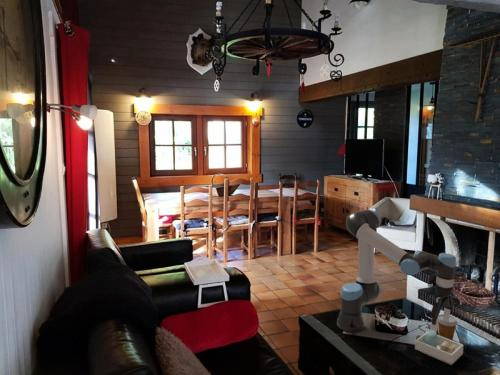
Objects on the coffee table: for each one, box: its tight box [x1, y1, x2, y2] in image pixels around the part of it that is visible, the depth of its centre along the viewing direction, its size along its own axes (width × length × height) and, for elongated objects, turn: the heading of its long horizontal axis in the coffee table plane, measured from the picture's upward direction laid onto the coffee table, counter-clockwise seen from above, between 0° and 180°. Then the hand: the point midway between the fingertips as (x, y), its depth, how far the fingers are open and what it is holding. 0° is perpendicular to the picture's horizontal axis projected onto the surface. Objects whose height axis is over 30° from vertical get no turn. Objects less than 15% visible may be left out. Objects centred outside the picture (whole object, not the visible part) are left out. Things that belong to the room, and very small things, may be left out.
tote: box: [414, 330, 464, 366], centre depth 193 cm, size 18×14×5 cm
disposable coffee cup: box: [437, 314, 458, 341], centre depth 203 cm, size 10×10×12 cm
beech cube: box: [440, 341, 456, 354], centre depth 189 cm, size 5×5×5 cm
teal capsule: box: [426, 331, 438, 348], centre depth 195 cm, size 5×5×7 cm
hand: (440, 325), depth 192 cm, fingers open, 13 cm apart
